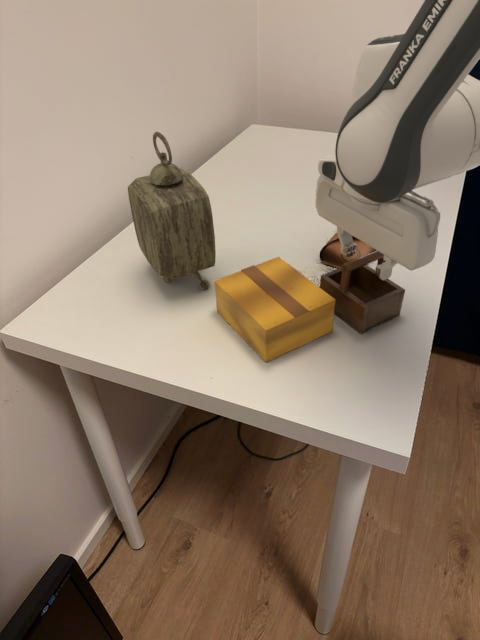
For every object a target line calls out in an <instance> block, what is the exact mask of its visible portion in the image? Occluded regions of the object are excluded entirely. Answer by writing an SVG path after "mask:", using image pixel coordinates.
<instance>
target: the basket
mask: <svg viewBox="0 0 480 640" xmlns="http://www.w3.org/2000/svg"><path fill="white" fill-rule="evenodd" d="M383 258H384V254H382V253H380V252H379V251H377V250H376V251H375V252H373V253H370V254H368V255H365V256H363V257H360V258H358V259H356V260H353V261H351V262H348V263H344V264H343V265H342V267H341V268H338V269H337V268H335V269H334V270H331V271H329V272H326V273H324V274H322V275H320V280H319V287H320V288H321V289H322V290H323V291H325V292H326V293H327V294H329V295H330V296H331V297H333V298H334V299H335V309H334V316H336V317H338V318H339V319H340V320H341V321H343V322H344V323H345V324H347V325H348V326H349V327H350V328H352V329H353V330H354V331H356V332H357V333H358V334H359V335H364V334H365V333H368V332H369V331H372V330H374V329H375V328H377V327H380V326H381V325H383V324H386V323H388V322H390V321H392V320H393V319H396V318H398V317H400V315H401V311H402V307H403V302H404V297H405V294H406V289H405V288H404V287H402V286H400V285H399V284H397V283H396V282H394V281H392V279H390V278H388V279H385V280H382V279H380V278H379V277H377V276H376V275H375V272H376V269H374V268H372V267H371V266H369V264H371V263H373V262H376V261H377V263H376V266H378V265H382V263H385V262H386V261H385V260H384V259H383Z"/></svg>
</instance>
